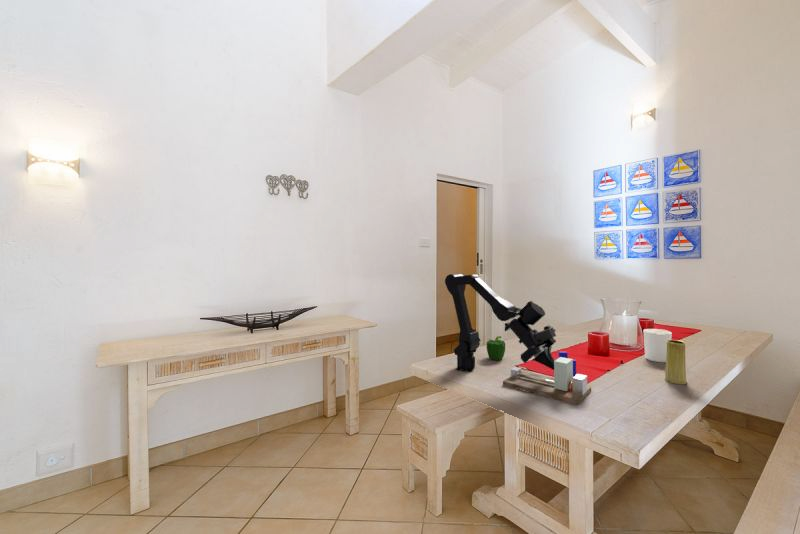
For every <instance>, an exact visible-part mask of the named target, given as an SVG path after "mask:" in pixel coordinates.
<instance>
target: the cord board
mask: <svg viewBox="0 0 800 534" xmlns="http://www.w3.org/2000/svg"><path fill="white" fill-rule="evenodd" d="M521 374H525V375H530V376H534V377H539V378H543V379H547V380H552V381H554V377H551V376H550V377H549V376H545V375H541V374H536V373H532V372H528V371H523V370H521ZM504 385H505V386H504ZM502 386H504V387H508V386H509V387H508V388H511V387H513V388H512V389H515V388H517V389H516V390H519V389H521V390H520V391H523V390H525V391H524V392H527V391H528V392H527V393H531V392H533V393H532V394H534V393H536V394H535V395H538V394H540V395H539V396H542V395H543V397H546V396H547V398H550V397H551V398H550V399H553V398H554V400H557V399H558V400H557V401H562V402H566V403H568V404H569V403H570V404H573V405H577V406H578V405H579V404H581V403H582V402H583V400H584V399H585V398H586V397H587V396H588V395H589V394H590V393H591V392H592V386H590V385H587V391H586V392H585V394H584V395H583V396H582V395H578V394H574V393H573V391H569V390H568V391H563V390H559V389H555V388H554V385H553V384H549V383H545V382H540V381H536V380H532V379H528V378H523V377H519V378H518V379H515V378H511V375H510V376H509V377H507V378H505V379H504V380H502ZM589 392H590V393H589Z"/></svg>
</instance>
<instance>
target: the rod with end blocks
mask: <svg viewBox="0 0 800 534" xmlns="http://www.w3.org/2000/svg"><path fill="white" fill-rule="evenodd" d="M521 371H522V368H521V367H517V366H514V367H512V368H510V376H511V378H515V379H518V378H519V377H523V378H528V379H532V380H536V381H540V382H545V383H549V384H553V385H554V381H552V380H547V379H543V378H539V377H534V376H530V375H525V374H521ZM587 386H588V375H586V374H582V373H576V375H575V376H573V378H572V381H570V382H569V386H568V390H569V391H573V393H574V394H578V395H582V396H583V395H584V394H585V392H586V391H587Z"/></svg>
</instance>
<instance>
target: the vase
mask: <svg viewBox="0 0 800 534" xmlns="http://www.w3.org/2000/svg"><path fill="white" fill-rule="evenodd" d="M686 362H687V361H686V342H685V341H682V340H679V339H678V340H677V339H671V340H667V353H666V362H665V371H664V372H665V373H664V374H665V375H664V380H665V381H666V382H668V383H670V384H675V385H685V384H687V370H686V369H687V367H686V365H687V364H686Z"/></svg>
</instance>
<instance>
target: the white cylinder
mask: <svg viewBox="0 0 800 534" xmlns="http://www.w3.org/2000/svg"><path fill="white" fill-rule="evenodd" d="M642 332H643V343H644V344H643V345H644V347H643V348H644V358H645V359H646V360H648V361H652V362H657V363H666V353H667V340H672V336H673V335H672V334H673V333H672V332H671V331H669V330H666V329H662V328H661V329H660V328H659V329H658V328H644V329H643V331H642Z"/></svg>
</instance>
